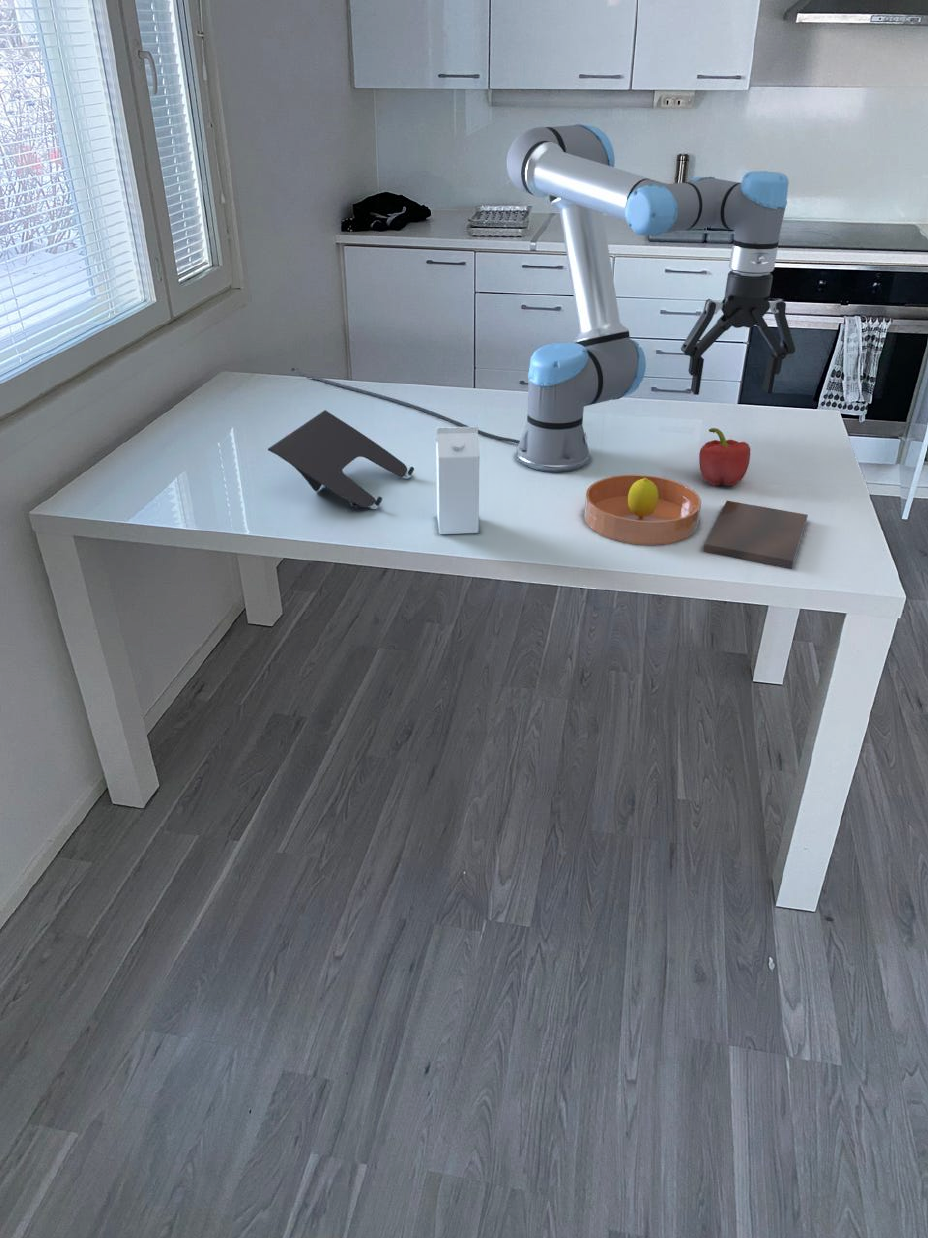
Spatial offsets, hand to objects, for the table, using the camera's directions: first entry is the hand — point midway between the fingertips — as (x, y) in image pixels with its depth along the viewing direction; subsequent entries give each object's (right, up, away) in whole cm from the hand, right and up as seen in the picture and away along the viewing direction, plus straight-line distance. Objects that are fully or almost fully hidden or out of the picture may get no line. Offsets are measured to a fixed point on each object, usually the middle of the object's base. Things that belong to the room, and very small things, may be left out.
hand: (730, 391), depth 172 cm
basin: (-16, -23, +3) cm, 28 cm away
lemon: (-16, -23, +3) cm, 28 cm away
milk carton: (-50, -25, 0) cm, 56 cm away
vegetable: (+3, -14, +18) cm, 23 cm away
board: (+4, -27, -3) cm, 27 cm away
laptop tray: (-72, -15, +15) cm, 75 cm away
